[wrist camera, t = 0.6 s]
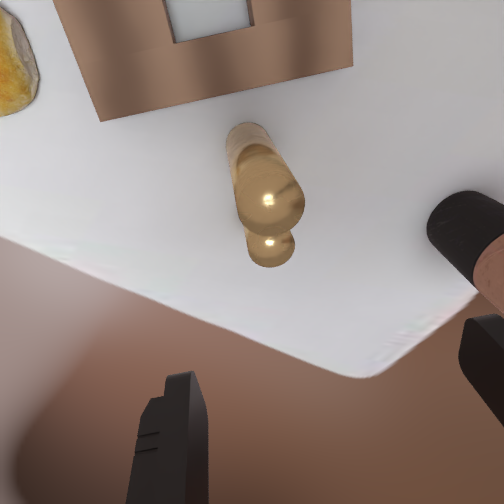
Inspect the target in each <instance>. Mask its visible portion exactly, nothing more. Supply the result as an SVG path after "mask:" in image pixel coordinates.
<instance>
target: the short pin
mask: <svg viewBox="0 0 504 504" xmlns="http://www.w3.org/2000/svg"><path fill="white" fill-rule="evenodd" d="M243 226H244V225H243ZM244 232H245V237H246V242H247V247H248V252H249V255H250V257H251V259H252V260H253V261H254V262H255V263H256V264H258V265H260V266H263V267H276V266H279V265H282V264H284V263H285V262H286V261H288V260H289V259H290V257H291V256H292V254H293V252H294V249H295V242H294V238H293V236H292V234H291V231H290V230H289V231H287V232H285V233H283V234H281V235H277V236H260V235H257V234H255V233H253V232H251V231H249V230H248V229H247V228H246V227H245V226H244Z"/></svg>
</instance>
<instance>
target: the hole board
mask: <svg viewBox="0 0 504 504" xmlns="http://www.w3.org/2000/svg"><path fill="white" fill-rule="evenodd" d="M53 2H54V5H55V8H56V10H57V13H58V15H59V18H60V20H61V23H62V25H63V28H64V31H65V33H66V36H67V38H68V41H69V43H70V46H71V48H72V51H73V54H74V56H75V59H76V61H77V64H78V66H79V69H80V71H81V74H82V76H83V79H84V82H85V84H86V87H87V89H88V92H89V94H90V97H91V99H92V102H93V105H94V107H95V110H96V112H97V115H98V117H99V120H100V122H103V121H107V120H112V119H116V118H121V117H126V116H130V115H135V114H139V113H144V112H148V111H153V110H157V109H162V108H166V107H171V106H175V105H180V104H184V103H189V102H193V101H198V100H202V99H207V98H211V97H216V96H220V95H225V94H229V93H234V92H238V91H243V90H247V89H252V88H257V87H261V86H266V85H270V84H275V83H279V82H284V81H288V80H293V79H297V78H302V77H306V76H311V75H315V74H320V73H324V72H329V71H333V70H338V69H342V68H347V67H351V66H353V48H352V22H351V0H247V7H248V13H249V19H250V25H251V27H248V28H243V29H239V30H234V31H230V32H225V33H221V34H216V35H212V36H207V37H203V38H198V39H194V40H189V41H185V42H180V43H176V40H175V36H174V33H173V29H172V25H171V21H170V17H169V13H168V9H167V6H166V2H165V0H53Z"/></svg>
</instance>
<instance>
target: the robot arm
mask: <svg viewBox="0 0 504 504" xmlns="http://www.w3.org/2000/svg"><path fill="white" fill-rule="evenodd" d="M458 359H459V364H460V367H461V370H462V372H463V374H464V375H465V377H466V378H467V379H468V381H469V382H470V383H471V385H472V386H473V387H474V389H475V390H476V391H477V392H478V394H479V395H480V396H481V398H482V399H483V400H484V402H485V403H486V404H487V406H488V407H489V408H490V410H491V411H492V412H493V413H494V415H495V416H496V417H497V419H498V420H499V421H500V423H501V424H502V425H503V427H504V319H503V318H502V317H501V316H499V315H497V314H490V315H485V316H479V317H474V318H469V319H467V320H466V321H465V324H464V329H463V334H462V339H461V344H460V349H459V356H458ZM137 436H138V439H137V441H136V447H135V456H134V458H133V464H132V470H131V476H130V482H129V487H128V493H127V499H126V504H209V492H208V491H209V490H208V489H209V485H208V484H209V481H208V480H209V476H208V415H207V409H206V405H205V401H204V398H203V395H202V392H201V390H200V387H199V384H198V381H197V378H196V376H195V373H194V371H188V372H183V373H179V374H173V375H168V376H167V378H166V382H165V391H164V396H162V397H157V398H151V400H150V401H149V403H148V405H147V406H146V408H145V410H144V412H143V414H142V415H141V418H140V424H139V429H138V435H137Z"/></svg>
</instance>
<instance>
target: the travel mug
mask: <svg viewBox="0 0 504 504" xmlns="http://www.w3.org/2000/svg"><path fill="white" fill-rule="evenodd" d="M427 235H428V238H429V240H430V242H431V243H432V244H433V245H434V246H435V247H436V248H437V250H438V251H439V252H440V253H441V254H442V255H443V256H444V257H445V258H446V259H447V260H448V261H449V262H450V263H451V264H452V265H453V266H454V267H455V268H456V269H457V270H458V271H459V272H460V273H461V274H462V275H463V276H464V277H465V278H466V279H467V280H468V281H469V282H470V283H471V284H472V285H473V286H474V287H475V288H476V289H477V290H478V291H479V292H480V293H482V294H483V295H484V296H485V297H486V298H487V299H488V300H489V301H490V302H491V303H492V304H494V305H495V306H496V307H497V308H498V309H499V310H500V311H501V312H502V313H503V314H504V205H503V204H501V203H499V202H497V201H495V200H493V199H491V198H489V197H487V196H485V195H483V194H481V193H478V192H474V191H463V192H459V193H456V194H453V195H451V196H449V197H448V198H446V199H445V200H444V201H442V202H441V203H440V204H439V205H438V206H437V207H436V208H435V210H434V211H433V212H432V214H431V216H430V218H429V220H428V224H427Z"/></svg>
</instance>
